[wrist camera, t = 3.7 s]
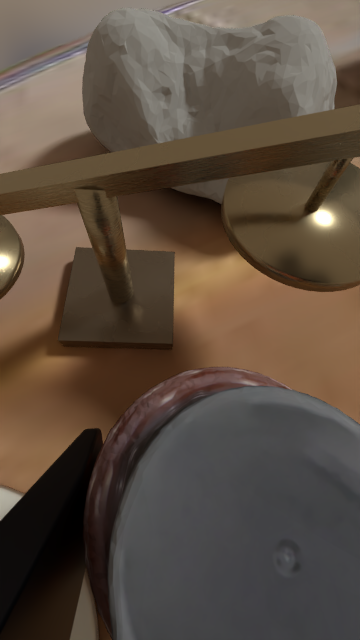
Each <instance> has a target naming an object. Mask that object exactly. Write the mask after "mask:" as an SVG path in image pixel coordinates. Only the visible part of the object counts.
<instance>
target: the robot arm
mask: <svg viewBox="0 0 360 640" xmlns="http://www.w3.org/2000/svg"><path fill="white" fill-rule="evenodd" d="M102 446H103V441H102V433H101V430H100V429H99V428H94V429H85V430H84V431H83V432H82V433H81V434H80V435H79V436H78V437H77V438H76V439H75V440H74V442H73V443H72V444H71V445H70V446H69V447H68V448H67V449H66V450H65V451H64V452H63V453H62V455H61V456H60V457H59V458H58V459H57V460H56V461H55V462H54V463H53V464H52V465H51V466H50V468H49V469H48V470H47V471H46V472H45V473H44V474H43V475H42V476H41V477H40V478H39V479H38V481H37V482H36V483H35V484H34V485H33V486H32V487H31V488H30V489H29V490H28V491H27V492H26V493H25V495H24V496H23V497H22V498H21V499H20V500H19V501H18V502H17V503H16V504H15V505H14V506H13V508H12V509H11V510H10V511H9V512H8V513H7V514H6V515H5V516H4V517H3V518H2V519H1V521H0V640H70V636H71V632H72V627H73V623H74V619H75V614H76V610H77V605H78V601H79V596H80V592H81V587H82V583H83V578H84V574H85V569H86V563H85V551H84V542H83V517H84V508H85V502H86V494H87V490H88V486H89V482H90V478H91V474H92V471H93V468H94V465H95V462H96V459H97V456H98V454H99V452H100V450H101V448H102Z"/></svg>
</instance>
